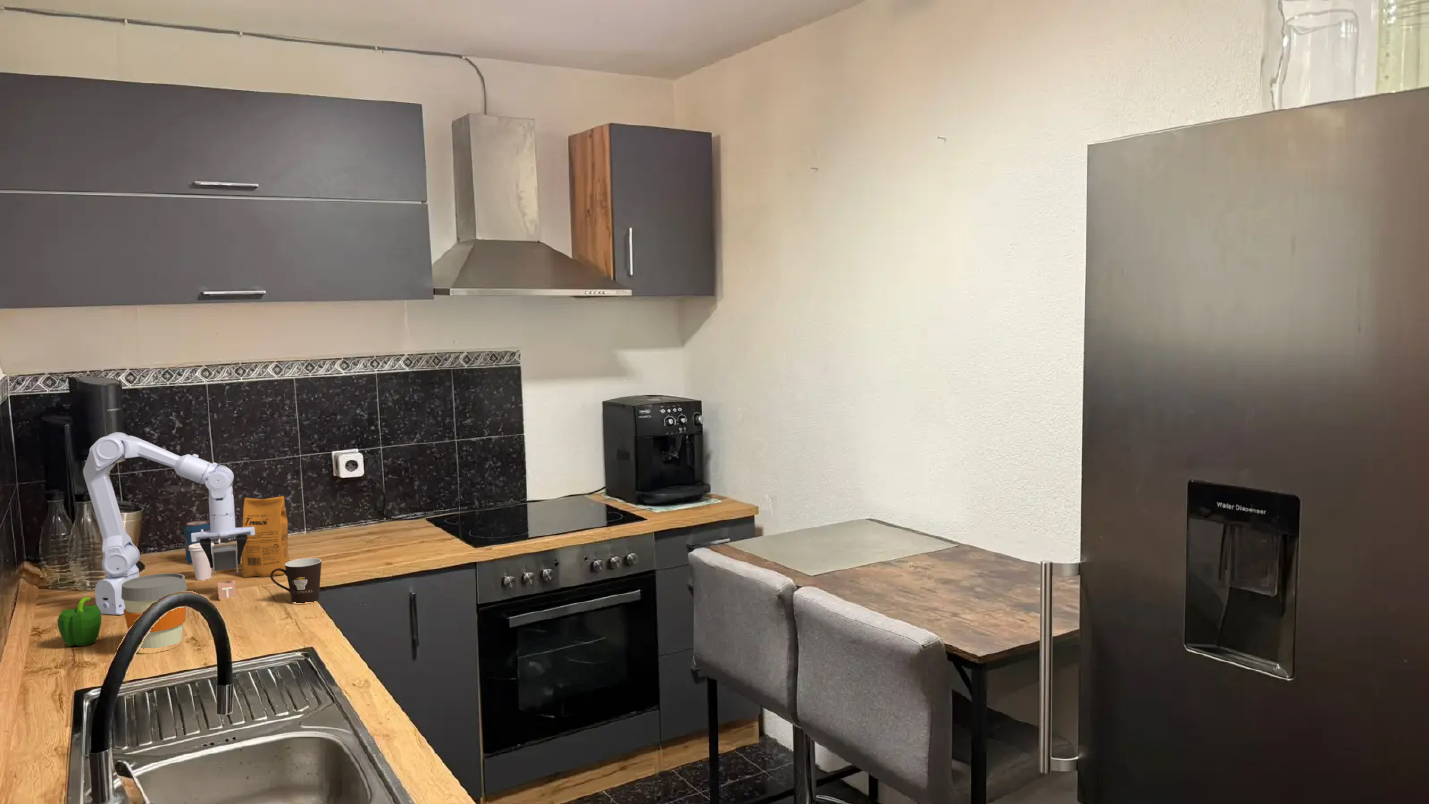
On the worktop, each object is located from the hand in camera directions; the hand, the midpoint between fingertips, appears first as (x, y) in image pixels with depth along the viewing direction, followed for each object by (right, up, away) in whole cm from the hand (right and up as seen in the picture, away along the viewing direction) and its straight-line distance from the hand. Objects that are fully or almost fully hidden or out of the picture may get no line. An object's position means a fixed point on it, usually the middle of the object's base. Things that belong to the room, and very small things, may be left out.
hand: (225, 565), depth 246 cm
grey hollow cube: (0, -2, 0) cm, 2 cm away
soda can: (-28, -6, +38) cm, 48 cm away
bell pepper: (-15, -12, -33) cm, 38 cm away
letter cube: (0, -9, +1) cm, 9 cm away
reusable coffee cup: (+3, -12, -36) cm, 38 cm away
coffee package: (-1, -7, +24) cm, 25 cm away
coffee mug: (+20, -9, -2) cm, 22 cm away
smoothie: (-16, -7, +20) cm, 26 cm away
